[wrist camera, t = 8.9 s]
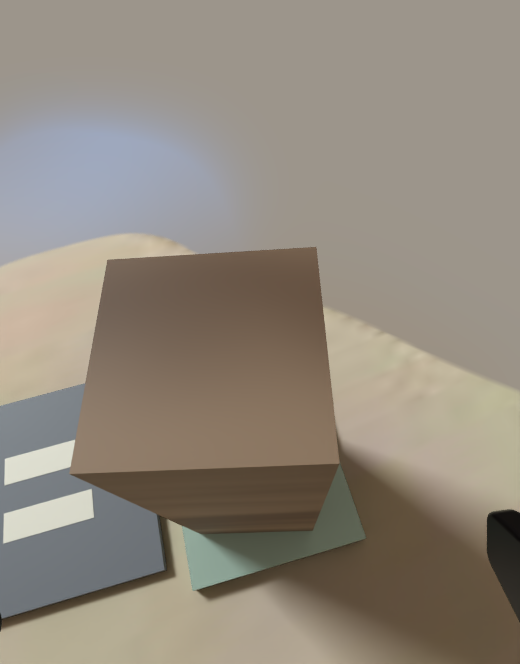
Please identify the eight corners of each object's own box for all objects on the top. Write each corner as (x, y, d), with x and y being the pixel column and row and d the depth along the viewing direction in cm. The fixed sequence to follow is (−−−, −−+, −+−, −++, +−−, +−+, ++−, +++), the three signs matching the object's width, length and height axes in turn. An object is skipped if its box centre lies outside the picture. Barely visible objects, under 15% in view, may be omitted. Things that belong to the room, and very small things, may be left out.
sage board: (364, 539, 18) (366, 538, 17) (195, 590, 18) (192, 590, 17) (310, 384, 21) (310, 379, 21) (167, 423, 21) (164, 419, 20)
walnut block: (312, 530, 18) (339, 463, 7) (200, 534, 18) (69, 474, 7) (304, 420, 20) (316, 246, 9) (204, 425, 20) (107, 259, 10)
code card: (166, 570, 18) (164, 569, 18) (-60, 637, 17) (-67, 638, 17) (138, 372, 22) (136, 369, 22) (-43, 421, 22) (-49, 418, 21)
